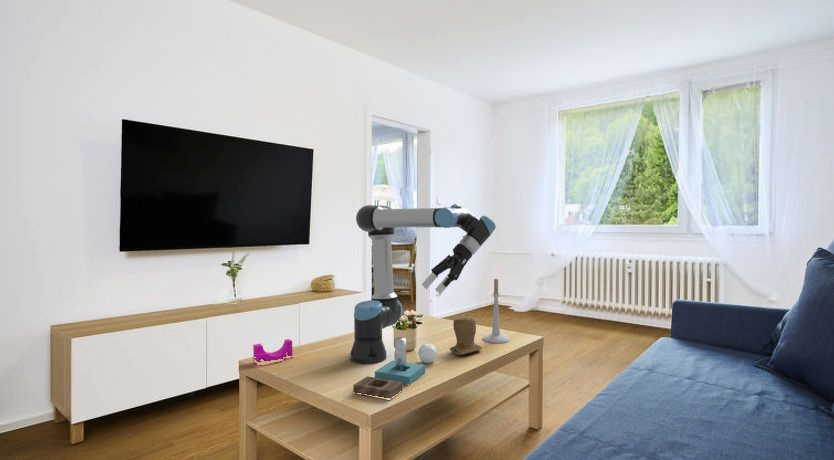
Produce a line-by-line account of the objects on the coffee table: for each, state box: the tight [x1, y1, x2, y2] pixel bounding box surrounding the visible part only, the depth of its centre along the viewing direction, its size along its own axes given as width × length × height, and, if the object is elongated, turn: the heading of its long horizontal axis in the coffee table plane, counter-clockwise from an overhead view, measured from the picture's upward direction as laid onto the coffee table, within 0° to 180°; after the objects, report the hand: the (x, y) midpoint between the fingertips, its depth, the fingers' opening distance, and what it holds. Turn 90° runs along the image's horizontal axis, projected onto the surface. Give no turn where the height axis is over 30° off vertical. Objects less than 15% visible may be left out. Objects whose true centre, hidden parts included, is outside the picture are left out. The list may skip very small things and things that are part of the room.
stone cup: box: [449, 317, 483, 356], centre depth 198 cm, size 15×12×15 cm
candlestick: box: [482, 278, 510, 344], centre depth 217 cm, size 13×13×30 cm
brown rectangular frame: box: [352, 375, 404, 399], centre depth 152 cm, size 14×9×3 cm, turn 66°
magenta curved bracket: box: [252, 338, 293, 362], centre depth 186 cm, size 15×6×8 cm, turn 124°
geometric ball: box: [417, 343, 438, 364], centre depth 183 cm, size 8×8×8 cm
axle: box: [394, 336, 407, 372], centre depth 167 cm, size 4×4×14 cm
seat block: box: [374, 360, 426, 386], centre depth 167 cm, size 14×14×3 cm
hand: (430, 289), depth 172 cm, fingers open, 13 cm apart
